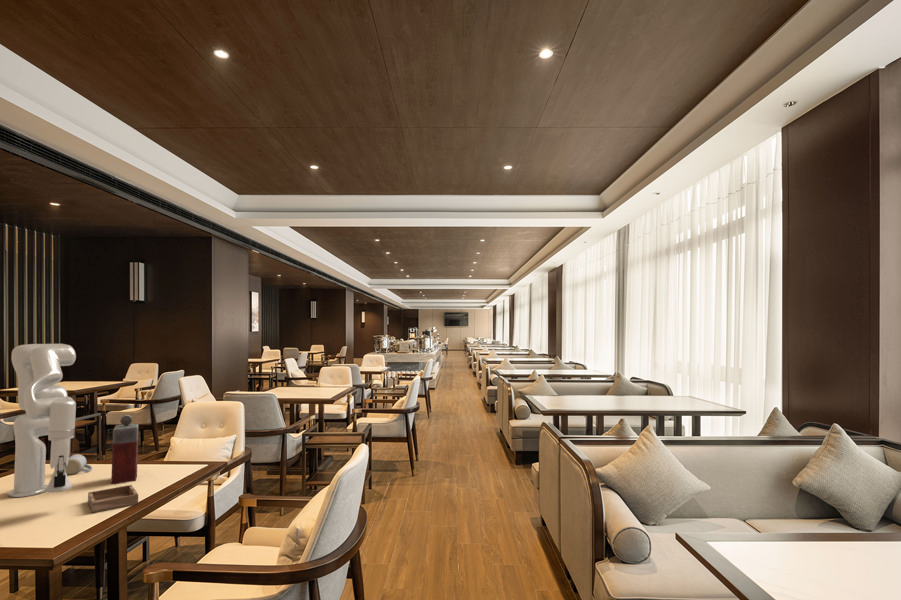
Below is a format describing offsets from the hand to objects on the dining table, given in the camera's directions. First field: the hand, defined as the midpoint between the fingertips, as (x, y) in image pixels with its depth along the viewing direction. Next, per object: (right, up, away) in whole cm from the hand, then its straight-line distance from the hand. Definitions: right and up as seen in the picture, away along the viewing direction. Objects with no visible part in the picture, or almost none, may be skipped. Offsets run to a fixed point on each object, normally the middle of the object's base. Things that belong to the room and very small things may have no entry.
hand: (59, 484), depth 178 cm
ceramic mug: (-31, -13, +49) cm, 59 cm away
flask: (0, -2, 0) cm, 2 cm away
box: (+14, -10, +8) cm, 19 cm away
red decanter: (-1, -12, +38) cm, 40 cm away
